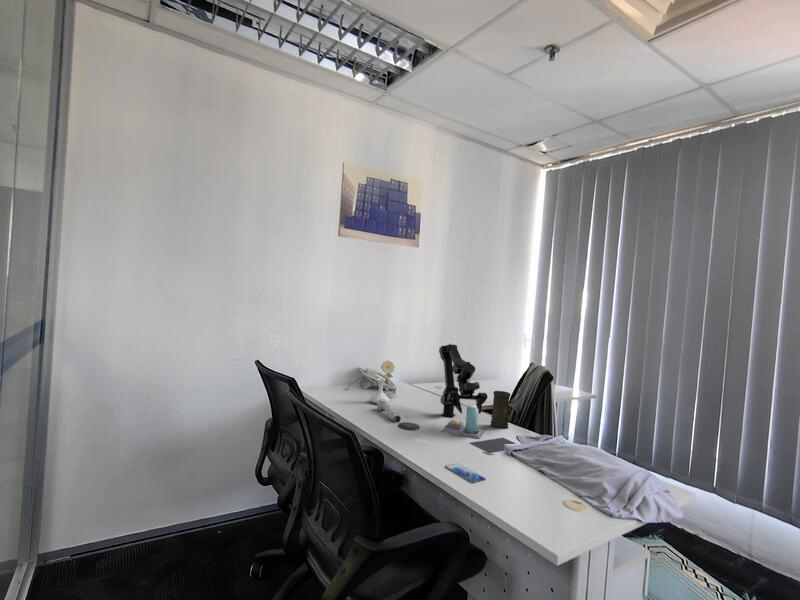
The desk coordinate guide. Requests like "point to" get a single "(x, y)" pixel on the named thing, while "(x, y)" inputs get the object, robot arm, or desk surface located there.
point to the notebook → (492, 445)
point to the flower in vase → (387, 368)
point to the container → (500, 410)
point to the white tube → (388, 410)
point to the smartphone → (465, 473)
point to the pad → (408, 426)
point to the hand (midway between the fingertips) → (470, 413)
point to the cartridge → (471, 419)
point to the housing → (461, 430)
